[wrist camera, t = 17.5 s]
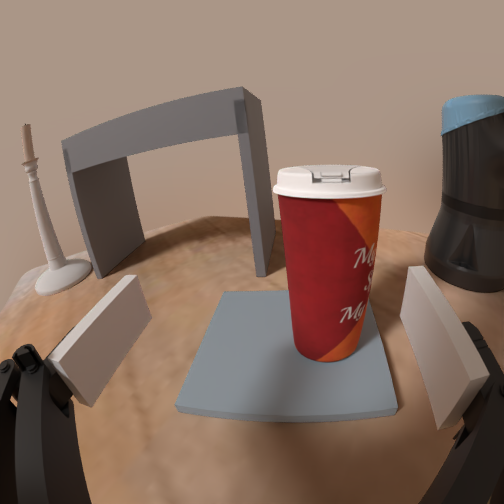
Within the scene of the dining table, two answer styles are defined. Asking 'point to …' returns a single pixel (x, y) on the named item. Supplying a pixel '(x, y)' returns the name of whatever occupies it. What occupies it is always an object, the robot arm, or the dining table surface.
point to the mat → (281, 369)
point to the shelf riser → (153, 137)
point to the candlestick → (49, 234)
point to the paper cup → (329, 253)
